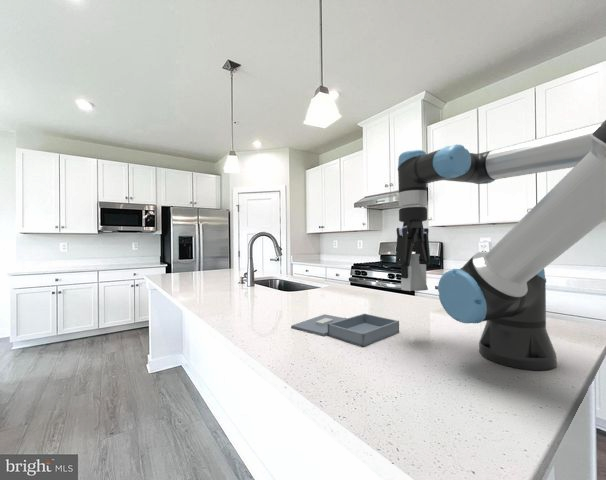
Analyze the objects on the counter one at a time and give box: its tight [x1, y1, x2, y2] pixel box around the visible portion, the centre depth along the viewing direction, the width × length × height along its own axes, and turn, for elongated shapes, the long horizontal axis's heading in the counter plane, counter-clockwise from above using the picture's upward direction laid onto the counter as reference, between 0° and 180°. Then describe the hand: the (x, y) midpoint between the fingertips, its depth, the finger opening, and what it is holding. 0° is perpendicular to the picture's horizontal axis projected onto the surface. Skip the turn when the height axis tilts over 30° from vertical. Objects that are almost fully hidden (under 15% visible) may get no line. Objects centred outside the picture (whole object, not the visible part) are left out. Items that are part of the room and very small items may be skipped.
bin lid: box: [290, 313, 347, 337], centre depth 100 cm, size 14×19×2 cm
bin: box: [327, 313, 400, 348], centre depth 90 cm, size 13×18×4 cm
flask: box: [409, 253, 429, 292], centre depth 83 cm, size 7×7×10 cm
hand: (414, 288), depth 83 cm, fingers closed on flask, 8 cm apart
